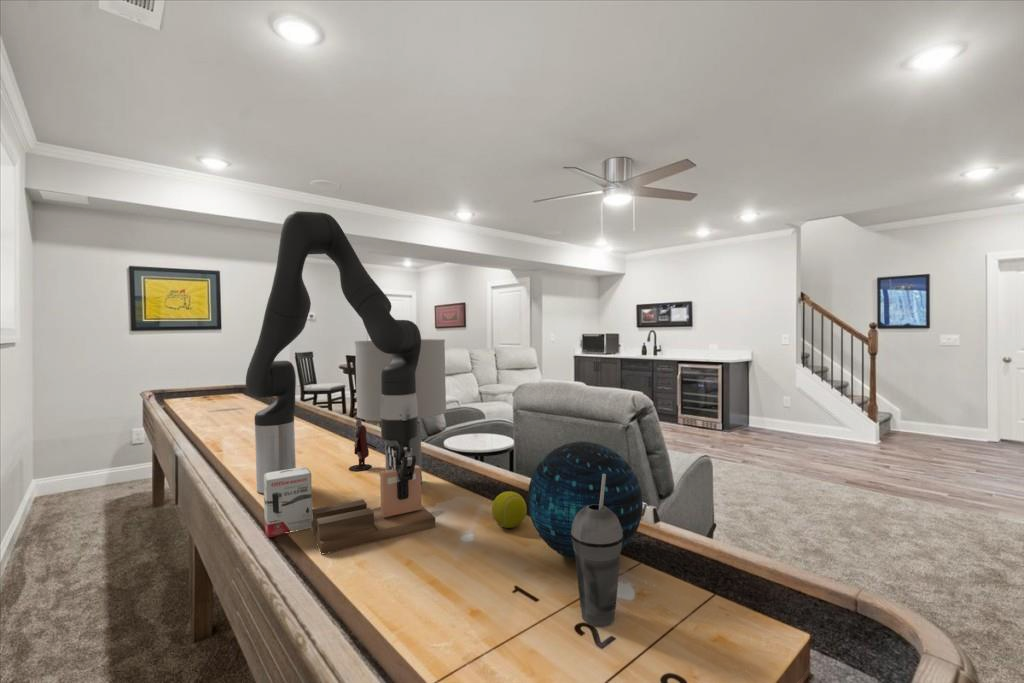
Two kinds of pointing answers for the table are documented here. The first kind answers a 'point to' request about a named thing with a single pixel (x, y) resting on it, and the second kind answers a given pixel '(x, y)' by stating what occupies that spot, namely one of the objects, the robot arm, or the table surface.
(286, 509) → the ink box
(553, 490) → the decorative sphere
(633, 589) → the table surface
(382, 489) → the stub
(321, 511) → the block
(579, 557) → the beverage cup
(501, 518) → the tennis ball
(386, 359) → the lamp
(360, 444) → the figurine
